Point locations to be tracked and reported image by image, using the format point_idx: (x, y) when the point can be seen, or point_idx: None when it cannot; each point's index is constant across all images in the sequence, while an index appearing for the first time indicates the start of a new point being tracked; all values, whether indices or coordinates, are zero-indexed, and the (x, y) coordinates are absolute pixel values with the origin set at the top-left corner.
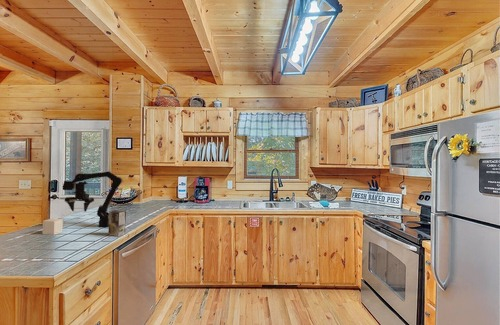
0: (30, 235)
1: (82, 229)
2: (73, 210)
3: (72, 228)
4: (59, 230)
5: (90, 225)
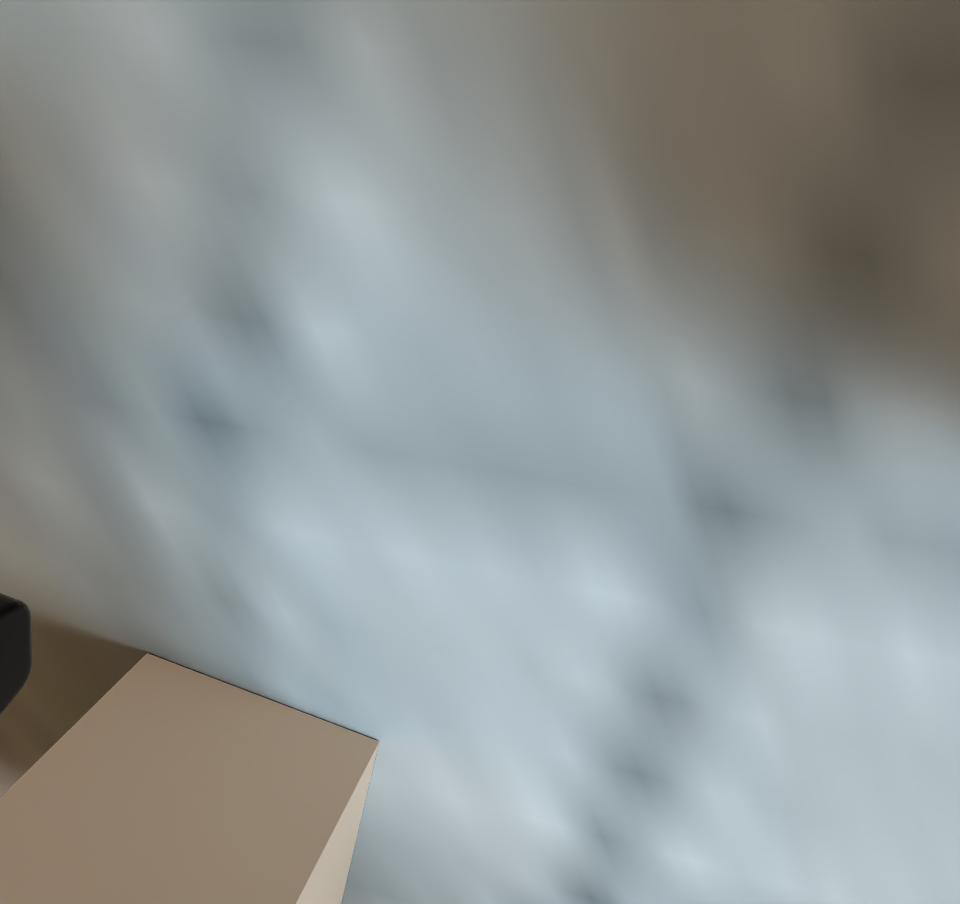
0: None
1: (786, 651)
2: (9, 640)
3: (473, 489)
4: (344, 845)
5: (950, 120)
